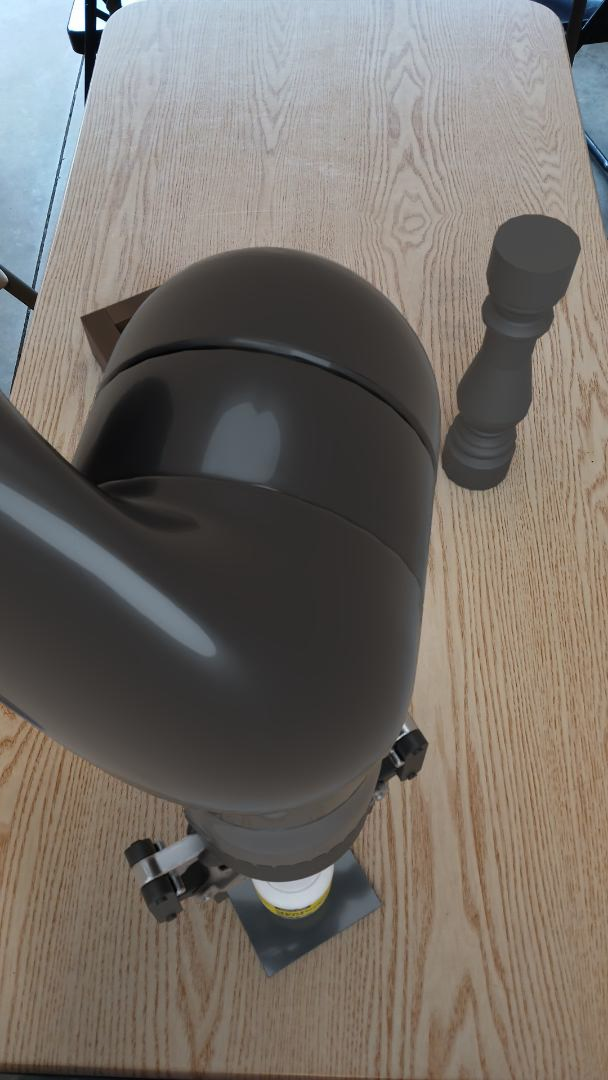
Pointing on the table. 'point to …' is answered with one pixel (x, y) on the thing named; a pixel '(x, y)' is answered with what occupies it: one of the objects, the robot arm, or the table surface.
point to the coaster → (297, 937)
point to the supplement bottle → (295, 894)
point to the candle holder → (508, 346)
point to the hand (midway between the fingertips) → (286, 839)
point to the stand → (110, 325)
